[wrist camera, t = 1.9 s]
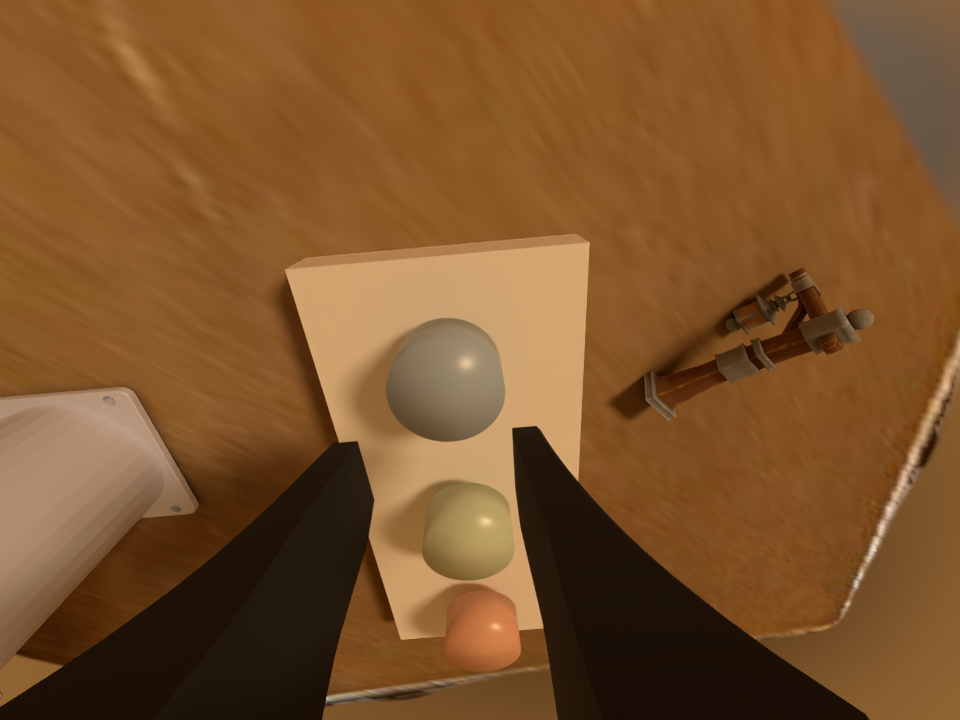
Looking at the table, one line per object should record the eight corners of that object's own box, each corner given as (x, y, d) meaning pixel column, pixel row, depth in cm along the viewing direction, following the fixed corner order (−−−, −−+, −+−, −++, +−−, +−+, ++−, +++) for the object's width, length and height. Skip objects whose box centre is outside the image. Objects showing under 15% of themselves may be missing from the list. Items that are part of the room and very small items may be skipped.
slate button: (405, 414, 16) (397, 446, 14) (386, 322, 14) (375, 346, 12) (503, 405, 16) (508, 437, 14) (497, 313, 14) (502, 335, 12)
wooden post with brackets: (841, 273, 16) (896, 346, 13) (661, 358, 21) (669, 424, 18) (821, 243, 15) (872, 312, 12) (641, 339, 21) (646, 403, 17)
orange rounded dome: (450, 634, 23) (449, 674, 21) (442, 593, 21) (440, 633, 19) (517, 629, 23) (521, 668, 21) (515, 588, 21) (519, 627, 19)
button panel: (405, 607, 26) (400, 639, 25) (305, 257, 16) (285, 269, 14) (564, 594, 26) (571, 625, 25) (575, 233, 16) (589, 242, 14)
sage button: (432, 545, 19) (428, 584, 17) (420, 486, 17) (415, 523, 16) (511, 538, 19) (516, 576, 17) (508, 479, 17) (512, 514, 16)
